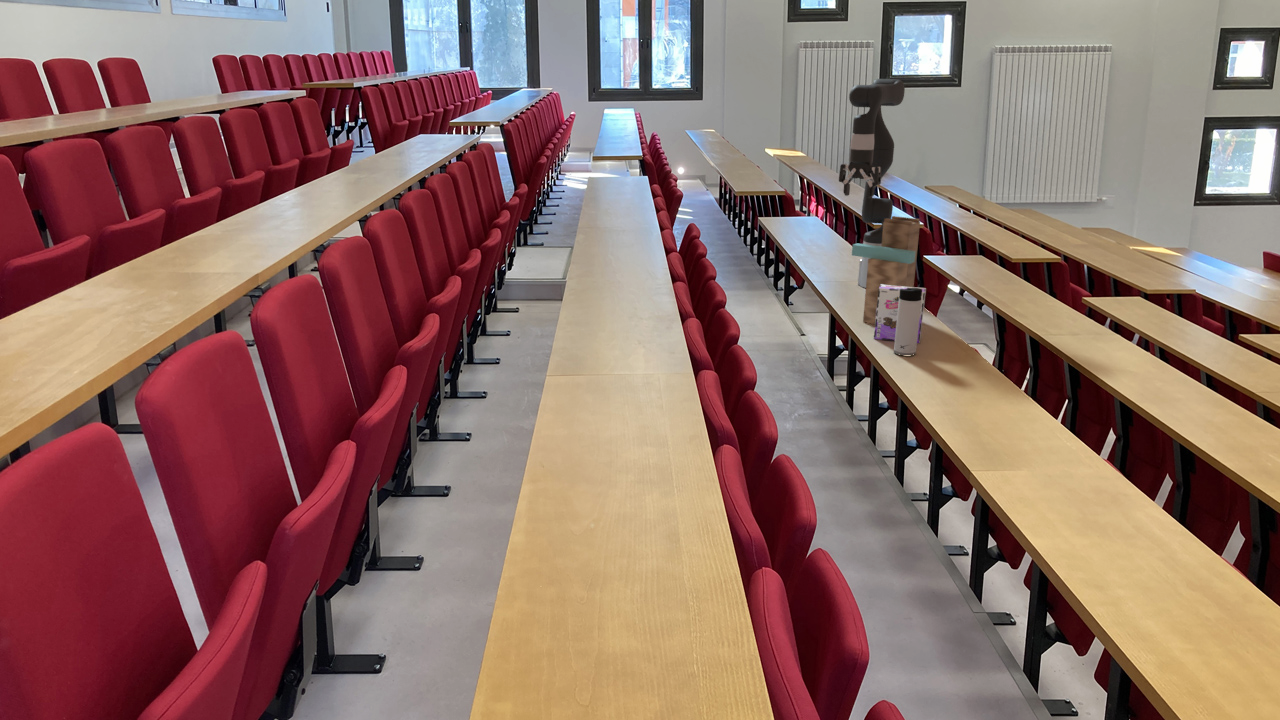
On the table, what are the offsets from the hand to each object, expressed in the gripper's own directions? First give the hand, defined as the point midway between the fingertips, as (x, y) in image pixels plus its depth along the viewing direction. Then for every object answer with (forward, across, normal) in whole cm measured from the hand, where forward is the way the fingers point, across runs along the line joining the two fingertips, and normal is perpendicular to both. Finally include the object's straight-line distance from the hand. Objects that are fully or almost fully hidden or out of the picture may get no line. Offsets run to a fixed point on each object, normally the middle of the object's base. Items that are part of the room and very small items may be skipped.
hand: (858, 196), depth 308 cm
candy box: (+38, -30, +28) cm, 56 cm away
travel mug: (+38, -38, +40) cm, 67 cm away
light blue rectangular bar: (+17, -17, +13) cm, 27 cm away
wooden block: (+38, -18, +13) cm, 44 cm away
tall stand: (+38, -18, +5) cm, 42 cm away
